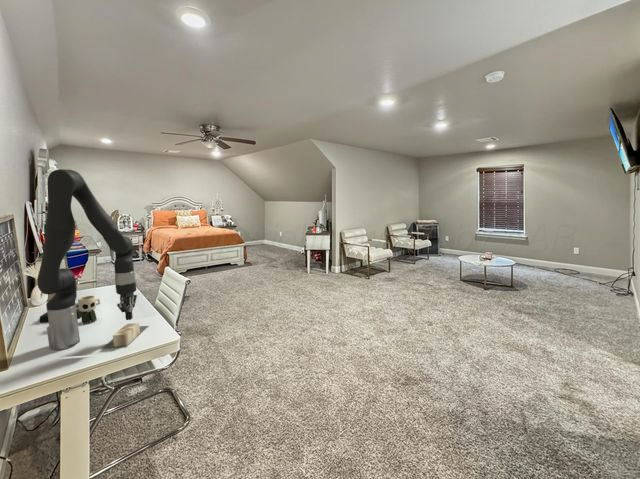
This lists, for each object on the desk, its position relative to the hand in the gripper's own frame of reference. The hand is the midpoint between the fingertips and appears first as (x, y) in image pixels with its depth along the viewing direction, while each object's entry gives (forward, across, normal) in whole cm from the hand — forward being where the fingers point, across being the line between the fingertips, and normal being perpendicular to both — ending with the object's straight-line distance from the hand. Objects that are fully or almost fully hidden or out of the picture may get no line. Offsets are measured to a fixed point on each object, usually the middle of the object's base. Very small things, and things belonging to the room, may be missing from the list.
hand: (129, 319), depth 133 cm
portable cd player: (+10, -36, -49) cm, 61 cm away
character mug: (+9, -24, -31) cm, 40 cm away
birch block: (+6, -3, 0) cm, 6 cm away
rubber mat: (+9, 0, -2) cm, 9 cm away
